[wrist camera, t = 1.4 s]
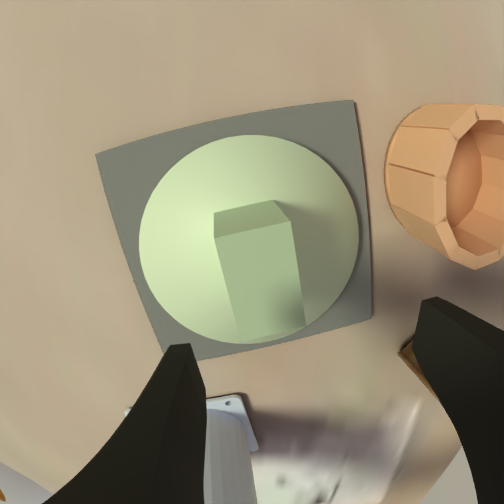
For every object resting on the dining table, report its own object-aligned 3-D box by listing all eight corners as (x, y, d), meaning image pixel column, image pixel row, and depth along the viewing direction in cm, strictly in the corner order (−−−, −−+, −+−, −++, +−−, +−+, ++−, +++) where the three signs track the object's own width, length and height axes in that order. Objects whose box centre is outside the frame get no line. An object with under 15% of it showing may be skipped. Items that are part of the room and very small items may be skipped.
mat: (169, 361, 20) (169, 365, 20) (97, 153, 15) (95, 154, 15) (369, 315, 21) (371, 318, 20) (350, 100, 16) (353, 99, 15)
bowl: (388, 251, 19) (431, 285, 15) (374, 106, 16) (425, 103, 11) (482, 225, 19) (527, 248, 15) (477, 105, 16) (529, 108, 11)
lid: (178, 352, 20) (173, 406, 15) (115, 167, 15) (80, 181, 11) (358, 309, 20) (390, 353, 16) (339, 118, 16) (382, 116, 11)
